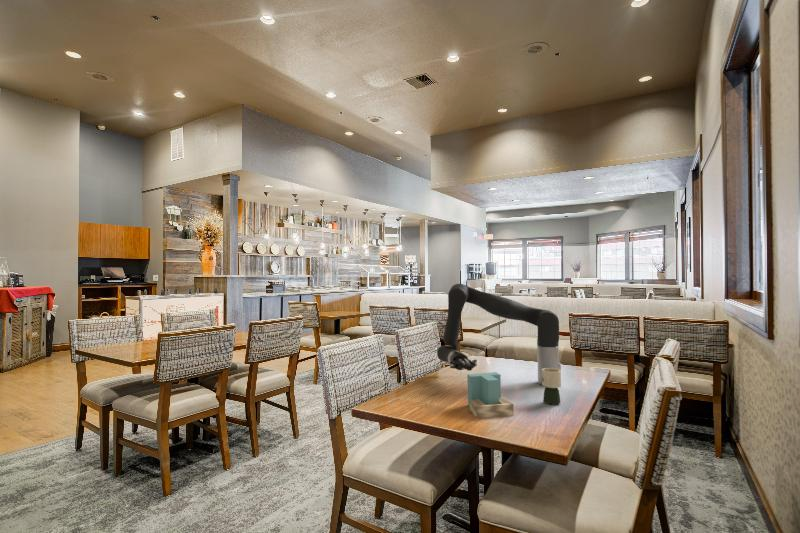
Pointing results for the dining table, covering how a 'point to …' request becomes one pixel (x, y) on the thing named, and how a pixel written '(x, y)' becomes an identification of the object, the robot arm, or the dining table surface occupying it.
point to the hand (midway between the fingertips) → (469, 368)
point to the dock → (491, 408)
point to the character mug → (551, 385)
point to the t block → (484, 387)
